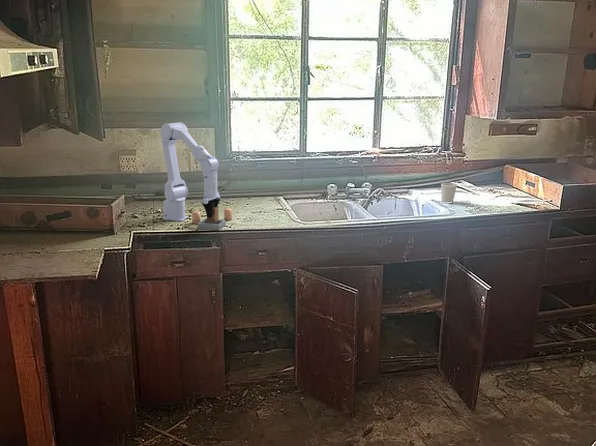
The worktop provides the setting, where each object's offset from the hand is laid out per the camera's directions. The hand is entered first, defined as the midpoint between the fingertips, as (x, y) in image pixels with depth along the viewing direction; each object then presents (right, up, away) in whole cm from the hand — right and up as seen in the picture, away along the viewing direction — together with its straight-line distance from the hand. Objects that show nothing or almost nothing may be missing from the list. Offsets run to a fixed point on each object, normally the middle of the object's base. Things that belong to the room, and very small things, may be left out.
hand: (211, 215), depth 252 cm
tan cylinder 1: (-8, -3, +7) cm, 11 cm away
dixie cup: (+118, +8, +52) cm, 129 cm away
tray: (0, -5, +1) cm, 5 cm away
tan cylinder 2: (+6, -2, +13) cm, 14 cm away
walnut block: (0, -2, +1) cm, 2 cm away
